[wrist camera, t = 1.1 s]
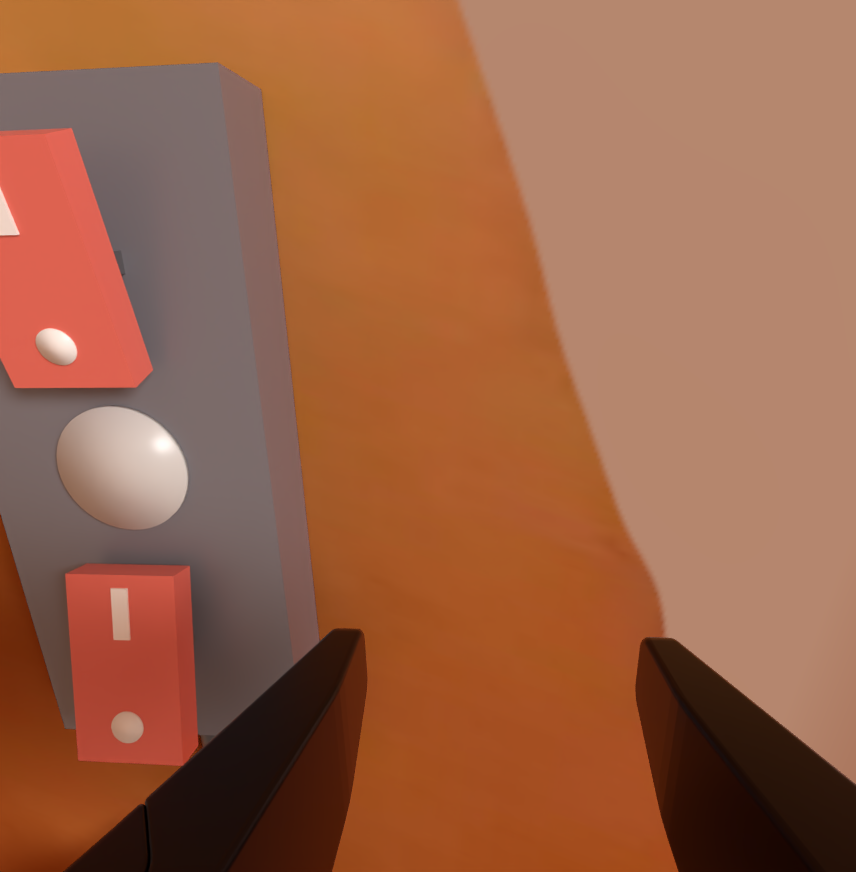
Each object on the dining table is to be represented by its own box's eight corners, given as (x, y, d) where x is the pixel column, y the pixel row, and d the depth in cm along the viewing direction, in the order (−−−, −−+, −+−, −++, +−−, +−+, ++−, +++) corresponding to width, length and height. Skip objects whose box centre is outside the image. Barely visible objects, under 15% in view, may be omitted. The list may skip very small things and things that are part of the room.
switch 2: (198, 745, 19) (182, 767, 18) (98, 741, 19) (76, 762, 18) (189, 565, 19) (172, 576, 17) (86, 563, 19) (63, 574, 18)
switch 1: (153, 370, 16) (134, 388, 16) (37, 370, 17) (13, 389, 16) (71, 128, 13) (42, 134, 12) (-71, 133, 13) (-110, 140, 12)
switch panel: (331, 753, 25) (309, 835, 22) (130, 744, 26) (79, 821, 23) (260, 88, 17) (207, 55, 13) (-34, 102, 18) (-155, 74, 14)
